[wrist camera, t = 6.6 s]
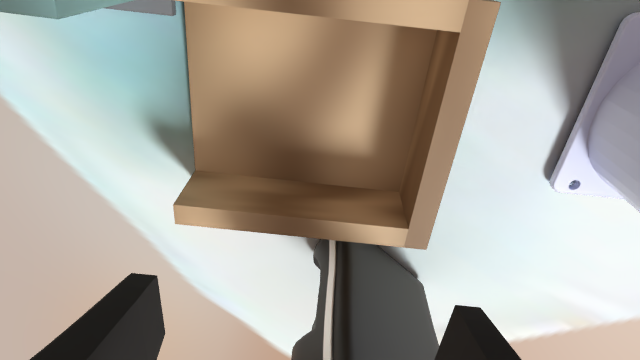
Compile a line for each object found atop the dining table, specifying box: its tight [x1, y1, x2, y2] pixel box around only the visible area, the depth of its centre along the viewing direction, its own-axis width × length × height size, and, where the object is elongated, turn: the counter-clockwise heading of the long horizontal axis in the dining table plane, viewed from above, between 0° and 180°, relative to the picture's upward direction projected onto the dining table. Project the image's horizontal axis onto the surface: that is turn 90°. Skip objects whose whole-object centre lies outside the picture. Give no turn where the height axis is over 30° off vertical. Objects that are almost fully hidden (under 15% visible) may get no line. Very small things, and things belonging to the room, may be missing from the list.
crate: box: [173, 0, 501, 250], centre depth 16 cm, size 11×10×3 cm
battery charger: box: [291, 239, 439, 360], centre depth 18 cm, size 7×4×11 cm, turn 46°
